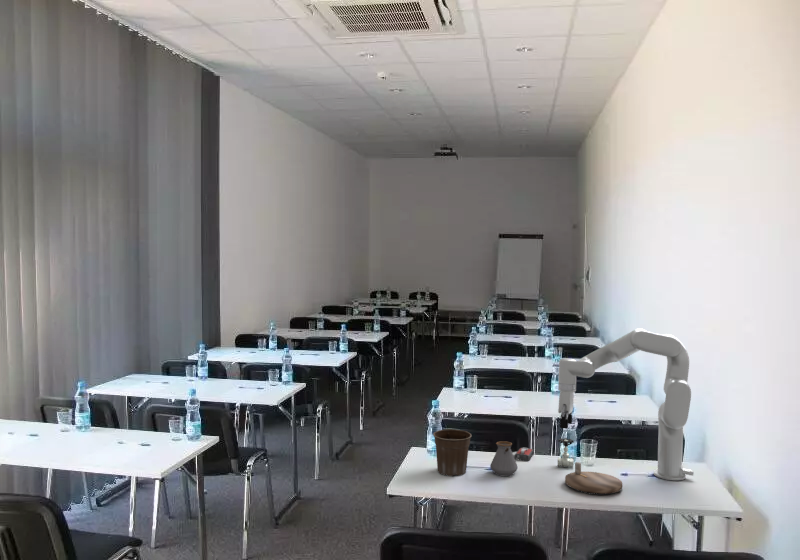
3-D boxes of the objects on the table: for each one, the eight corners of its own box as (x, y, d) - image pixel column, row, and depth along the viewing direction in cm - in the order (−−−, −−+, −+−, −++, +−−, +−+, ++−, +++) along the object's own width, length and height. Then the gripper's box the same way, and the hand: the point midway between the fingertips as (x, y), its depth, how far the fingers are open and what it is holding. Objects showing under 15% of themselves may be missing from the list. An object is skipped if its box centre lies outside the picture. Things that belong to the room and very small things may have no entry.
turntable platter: (594, 472, 277) (594, 458, 276) (634, 488, 257) (634, 473, 257) (553, 479, 267) (553, 464, 267) (592, 496, 247) (592, 481, 247)
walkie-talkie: (515, 452, 309) (506, 464, 291) (515, 443, 309) (506, 454, 291) (534, 454, 306) (526, 467, 288) (534, 445, 306) (526, 457, 287)
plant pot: (463, 480, 267) (463, 441, 266) (426, 474, 274) (427, 436, 273) (476, 469, 281) (476, 432, 281) (441, 463, 288) (441, 427, 288)
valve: (573, 469, 283) (574, 442, 283) (557, 468, 285) (558, 441, 284) (572, 465, 290) (573, 438, 289) (557, 464, 291) (557, 437, 291)
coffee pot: (489, 468, 283) (490, 434, 283) (516, 469, 282) (516, 435, 282) (492, 485, 262) (493, 447, 261) (521, 486, 261) (522, 448, 261)
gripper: (562, 383, 296) (561, 420, 296) (554, 389, 280) (553, 429, 280) (579, 384, 293) (578, 422, 293) (572, 391, 277) (571, 431, 277)
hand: (566, 425), depth 287 cm, fingers open, 9 cm apart
